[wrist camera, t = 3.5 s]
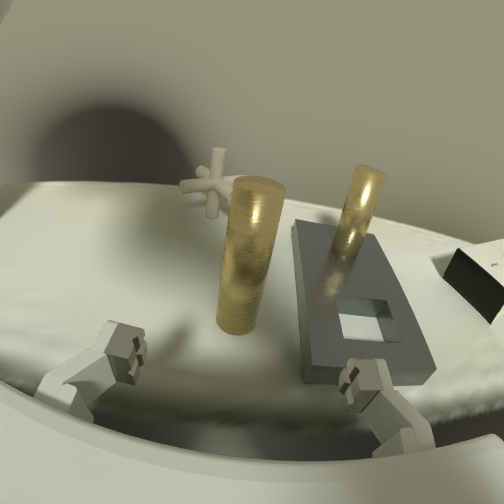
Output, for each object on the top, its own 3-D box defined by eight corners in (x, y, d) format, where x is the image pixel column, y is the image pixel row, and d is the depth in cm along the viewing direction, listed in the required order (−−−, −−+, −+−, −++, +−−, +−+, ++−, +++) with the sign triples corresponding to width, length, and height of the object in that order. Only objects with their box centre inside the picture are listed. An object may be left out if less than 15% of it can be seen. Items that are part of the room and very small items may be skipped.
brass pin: (207, 319, 27) (222, 181, 20) (233, 301, 29) (255, 172, 22) (237, 341, 25) (265, 200, 18) (262, 321, 28) (295, 189, 21)
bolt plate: (422, 384, 23) (502, 274, 16) (303, 382, 22) (366, 245, 15) (368, 248, 43) (397, 168, 36) (291, 234, 43) (312, 145, 36)
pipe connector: (225, 198, 50) (233, 139, 44) (258, 226, 43) (271, 159, 38) (168, 205, 44) (171, 141, 39) (194, 238, 38) (200, 161, 32)
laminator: (487, 327, 31) (510, 293, 28) (435, 276, 40) (452, 243, 37) (532, 285, 45) (544, 262, 42) (498, 255, 54) (509, 233, 51)
